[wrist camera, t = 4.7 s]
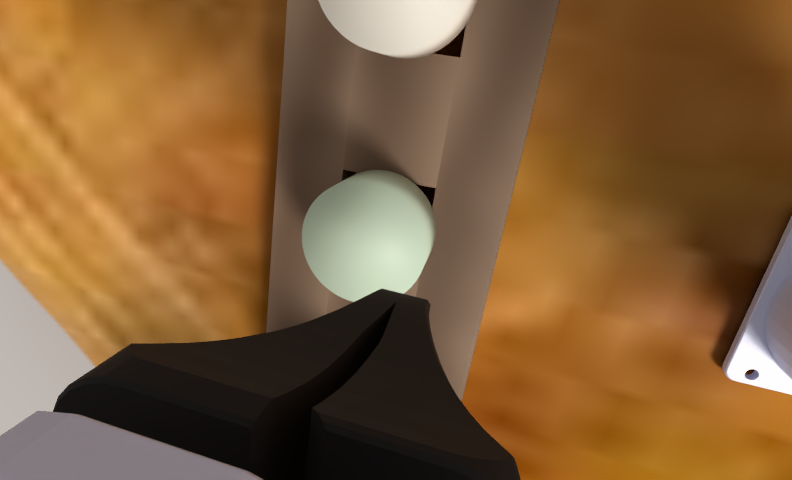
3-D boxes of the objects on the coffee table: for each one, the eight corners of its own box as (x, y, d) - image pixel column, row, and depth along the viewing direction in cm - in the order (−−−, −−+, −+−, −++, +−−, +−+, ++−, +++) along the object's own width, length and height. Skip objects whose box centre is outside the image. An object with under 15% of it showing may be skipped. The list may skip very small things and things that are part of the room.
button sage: (451, 174, 20) (437, 195, 16) (431, 275, 21) (414, 317, 17) (345, 154, 21) (307, 169, 17) (334, 252, 22) (297, 288, 18)
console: (598, -175, 16) (610, -211, 14) (438, 485, 26) (433, 515, 24) (324, -193, 17) (301, -227, 15) (274, 434, 27) (257, 459, 26)
